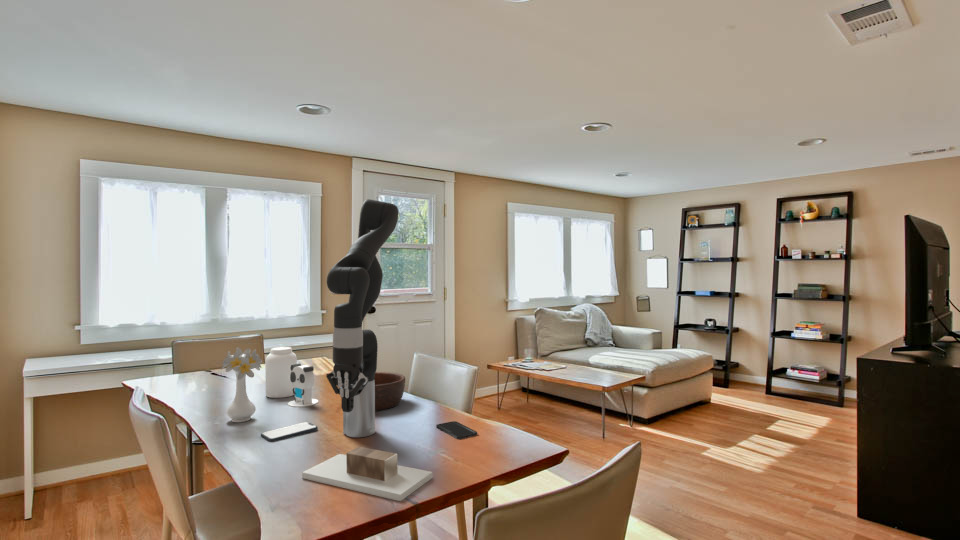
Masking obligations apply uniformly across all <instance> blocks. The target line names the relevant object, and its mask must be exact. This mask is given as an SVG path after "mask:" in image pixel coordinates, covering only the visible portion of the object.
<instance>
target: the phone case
mask: <svg viewBox="0 0 960 540" xmlns="http://www.w3.org/2000/svg"><path fill="white" fill-rule="evenodd" d="M318 428H319V427H318V425H315V424H313V423H312V422H309V421H304V422H299V423H295V424H292V425H288V426H285V427H279V428H276V429H272V430H267V431H264V432H261V433H260V438H262V439H264V440H266V441H268V442H270V443H272V442H277V441H283V440H286V439H289V438H290V439H291V438H294V437H298V436H301V435H306V434H310V433H313V432H317V431H318Z"/></svg>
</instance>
